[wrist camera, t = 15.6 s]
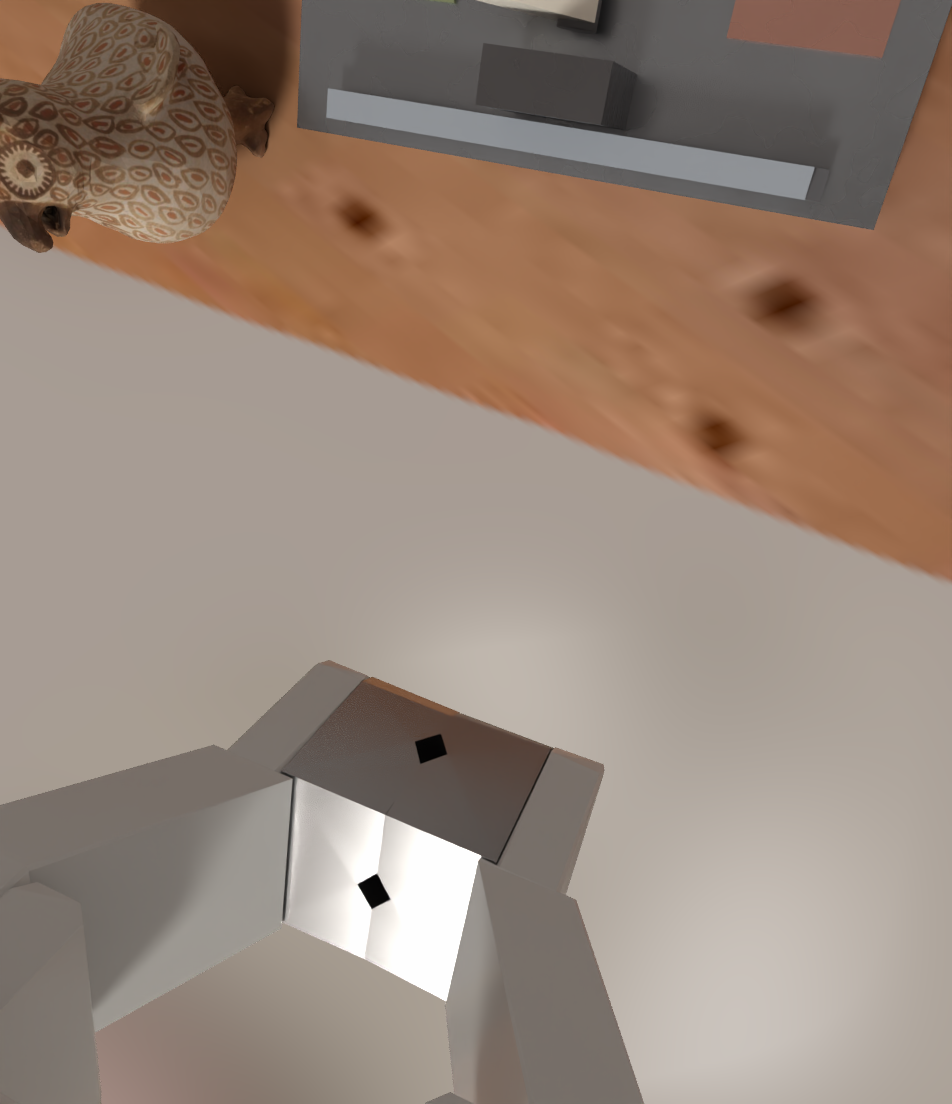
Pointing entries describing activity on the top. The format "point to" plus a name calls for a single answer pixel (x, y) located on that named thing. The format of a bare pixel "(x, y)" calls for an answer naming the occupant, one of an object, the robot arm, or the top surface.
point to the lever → (559, 12)
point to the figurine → (122, 134)
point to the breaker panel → (648, 83)
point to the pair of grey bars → (582, 145)
